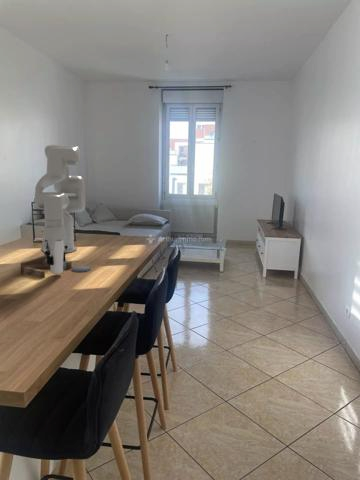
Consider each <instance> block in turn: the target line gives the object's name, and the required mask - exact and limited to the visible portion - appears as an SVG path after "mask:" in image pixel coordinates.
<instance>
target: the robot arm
mask: <svg viewBox="0 0 360 480" xmlns="http://www.w3.org/2000/svg"><path fill="white" fill-rule="evenodd" d="M44 154H45V157H46V173H45V174H44V175H43V176H41V178H39V179H38V181H37V183H36V185H35V188H34V190H35V191H34V204H35V207H36V208H37V209H39V210H43V211H44V225H45V226H44V227H43V231H42V246H41V248H40V251H41V252H42V253H43V254H44V256H47V264H48V265H53V264H54V262H53V256H52V253H53V250H54V248H55V241H61V240H63V243H64V255H63V261H65V260H66V254H67V253H72V252H76V251H77V250H78V248H77V246H75V241H74V239H75V237H74V220H73V217H72V216H71V215H70V214H69V213H82V212H84V211H85V209H86V192H85V191H86V189H85V188H86V187H85V182H84V181H85V180H84V178H83V176H79V175H71V173H70V166H77V165H79V164H80V161H81V156H82V155H81V154H82V153H81V149H80V147H79V146H78V145H63V144H49V145H46V146H45V147H44ZM50 186H53V187H54V190H55V191H54V192H51V191H49V192H48V191H47V192H46V191H44V190H45V189H46V188H49V187H50ZM43 191H44V192H43ZM48 247H49V249H48ZM49 250H50V253H49Z"/></svg>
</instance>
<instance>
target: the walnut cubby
mask: <svg viewBox="0 0 360 480" xmlns="http://www.w3.org/2000/svg"><path fill="white" fill-rule="evenodd" d="M72 268H73V263H72V261H68V260H66V259H65V261H63V270H66V269H69V270H70V269H72ZM42 269H44V270H42ZM45 270H50V265H48V264H47V256H46V255H44V256H43V255H42V256H40V257H37V258H34V259H30V260H26V261H23V262H20V272H21V274H22V275H25V276H30V277H35V278H41V279H44V278H45V277H46V273H45V272H46V271H45ZM50 271H51V270H50Z"/></svg>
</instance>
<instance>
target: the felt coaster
mask: <svg viewBox="0 0 360 480" xmlns="http://www.w3.org/2000/svg"><path fill="white" fill-rule="evenodd" d="M70 269H71V271H72V272H74V273H85V272H90V271H91V270H92V268H91V266H88V265H78V266H72V268H70Z"/></svg>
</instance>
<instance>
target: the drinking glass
mask: <svg viewBox="0 0 360 480" xmlns="http://www.w3.org/2000/svg"><path fill="white" fill-rule="evenodd" d="M48 249H49V247H48ZM49 253H50V250H49ZM63 255H64V243H63V240H61V241H55V248H54V250H53V253H52V256H53V262H54V264H53V265H50V273H51V274H54V275H57V274H58V275H59V274H63V271H64V269H63Z"/></svg>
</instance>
